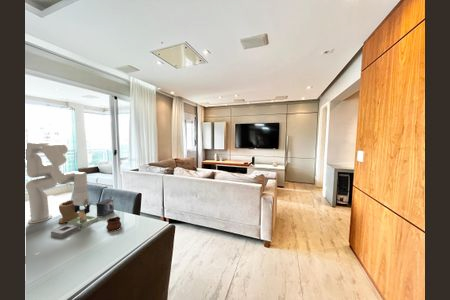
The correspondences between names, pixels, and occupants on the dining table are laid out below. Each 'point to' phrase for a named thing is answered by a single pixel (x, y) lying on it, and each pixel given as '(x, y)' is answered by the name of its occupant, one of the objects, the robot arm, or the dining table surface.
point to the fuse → (82, 216)
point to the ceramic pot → (113, 224)
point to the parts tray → (89, 220)
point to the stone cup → (67, 211)
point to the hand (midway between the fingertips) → (82, 212)
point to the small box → (105, 207)
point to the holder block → (64, 231)
